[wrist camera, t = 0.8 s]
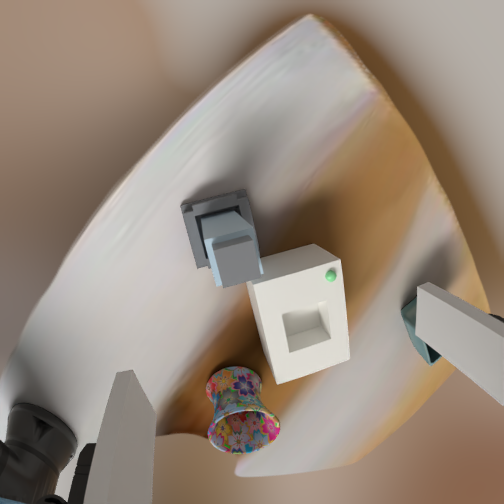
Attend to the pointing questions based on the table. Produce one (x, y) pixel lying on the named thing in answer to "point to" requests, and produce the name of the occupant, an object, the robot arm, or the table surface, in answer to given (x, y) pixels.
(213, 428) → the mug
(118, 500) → the robot arm
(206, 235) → the plug
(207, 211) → the holster
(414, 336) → the flower pot
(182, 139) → the table surface
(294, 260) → the port panel
